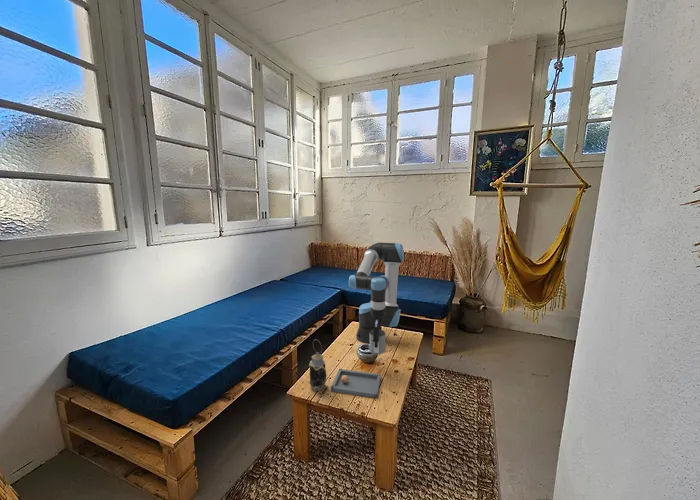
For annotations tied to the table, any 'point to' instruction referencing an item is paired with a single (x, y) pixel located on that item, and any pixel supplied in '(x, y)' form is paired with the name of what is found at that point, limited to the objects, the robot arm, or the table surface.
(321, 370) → the lantern
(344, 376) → the ball
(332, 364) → the table surface
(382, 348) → the cup
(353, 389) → the tray
